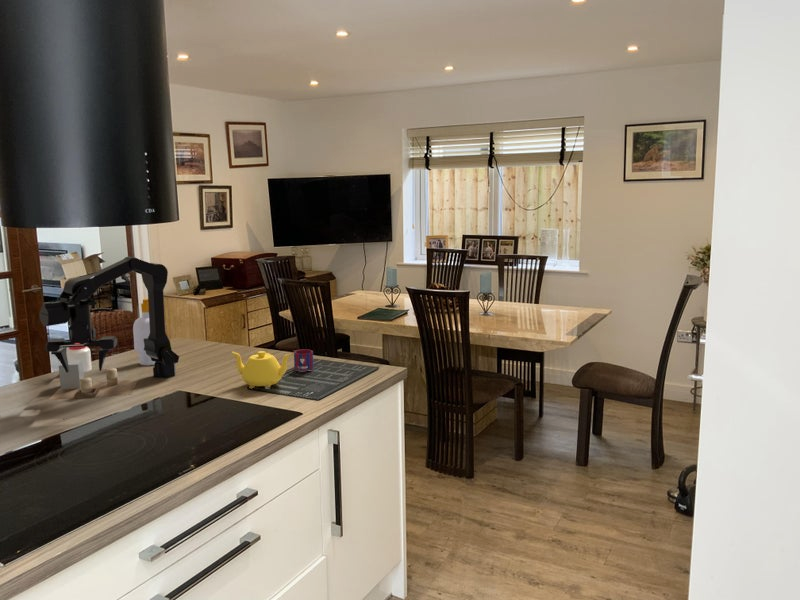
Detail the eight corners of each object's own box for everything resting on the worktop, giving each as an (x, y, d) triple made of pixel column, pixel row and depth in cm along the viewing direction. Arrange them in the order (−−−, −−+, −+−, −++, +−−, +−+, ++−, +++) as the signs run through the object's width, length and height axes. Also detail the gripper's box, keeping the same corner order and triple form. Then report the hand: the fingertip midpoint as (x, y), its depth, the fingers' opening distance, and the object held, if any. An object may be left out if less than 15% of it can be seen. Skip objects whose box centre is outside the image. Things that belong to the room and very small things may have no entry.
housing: (84, 383, 207) (82, 359, 206) (80, 388, 202) (78, 364, 201) (65, 384, 206) (63, 360, 205) (60, 389, 201) (58, 365, 199)
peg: (118, 382, 208) (117, 367, 207) (116, 385, 205) (115, 370, 204) (108, 383, 207) (106, 368, 206) (106, 386, 204) (104, 371, 203)
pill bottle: (74, 378, 218) (71, 347, 216) (63, 374, 222) (60, 343, 220) (96, 373, 224) (93, 342, 222) (85, 369, 228) (82, 339, 226)
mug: (293, 372, 225) (292, 353, 224) (297, 365, 235) (296, 347, 234) (312, 372, 225) (311, 354, 224) (315, 365, 235) (315, 347, 234)
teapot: (298, 378, 218) (297, 346, 216) (287, 392, 203) (286, 357, 202) (241, 377, 220) (239, 344, 218) (226, 390, 205) (224, 356, 203)
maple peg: (93, 392, 197) (92, 377, 196) (91, 396, 194) (89, 380, 193) (82, 393, 197) (81, 377, 196) (80, 396, 194) (78, 381, 193)
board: (139, 383, 212) (138, 375, 211) (131, 399, 196) (130, 390, 196) (63, 388, 206) (62, 380, 206) (48, 404, 191) (48, 396, 190)
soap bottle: (171, 362, 238) (167, 298, 234) (147, 368, 230) (142, 302, 226) (153, 358, 244) (149, 295, 240) (129, 364, 235) (124, 299, 231)
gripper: (118, 314, 201) (122, 362, 204) (53, 317, 197) (58, 366, 200) (111, 321, 191) (115, 372, 193) (42, 324, 186) (47, 376, 189)
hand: (84, 371), depth 194 cm, fingers open, 9 cm apart
